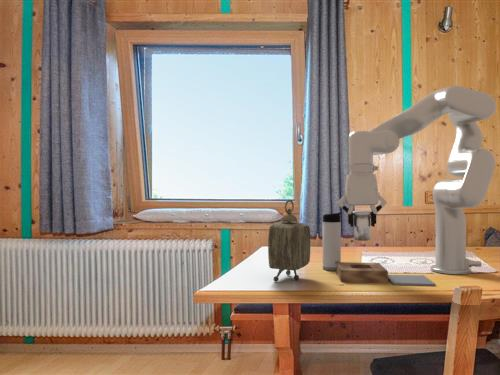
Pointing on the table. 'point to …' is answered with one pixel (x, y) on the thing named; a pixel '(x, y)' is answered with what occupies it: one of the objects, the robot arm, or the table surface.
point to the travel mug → (331, 241)
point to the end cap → (362, 225)
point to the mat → (410, 280)
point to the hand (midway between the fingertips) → (362, 225)
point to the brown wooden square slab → (361, 272)
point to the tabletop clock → (288, 244)
